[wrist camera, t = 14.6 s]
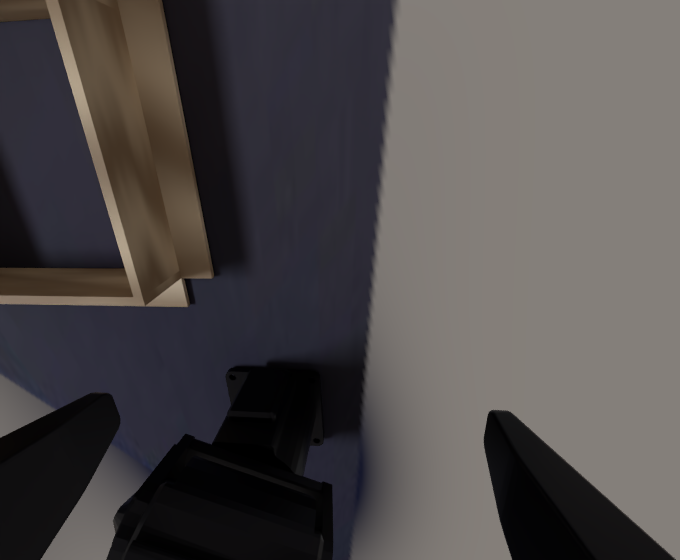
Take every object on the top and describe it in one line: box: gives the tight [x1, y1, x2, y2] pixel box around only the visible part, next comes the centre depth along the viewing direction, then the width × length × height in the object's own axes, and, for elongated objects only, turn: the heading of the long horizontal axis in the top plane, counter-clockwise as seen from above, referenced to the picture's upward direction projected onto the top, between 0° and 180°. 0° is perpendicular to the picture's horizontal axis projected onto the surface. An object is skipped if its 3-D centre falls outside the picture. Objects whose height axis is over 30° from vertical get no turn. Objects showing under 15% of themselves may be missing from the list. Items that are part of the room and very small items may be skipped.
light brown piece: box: [0, 0, 214, 307], centre depth 18 cm, size 18×18×4 cm
